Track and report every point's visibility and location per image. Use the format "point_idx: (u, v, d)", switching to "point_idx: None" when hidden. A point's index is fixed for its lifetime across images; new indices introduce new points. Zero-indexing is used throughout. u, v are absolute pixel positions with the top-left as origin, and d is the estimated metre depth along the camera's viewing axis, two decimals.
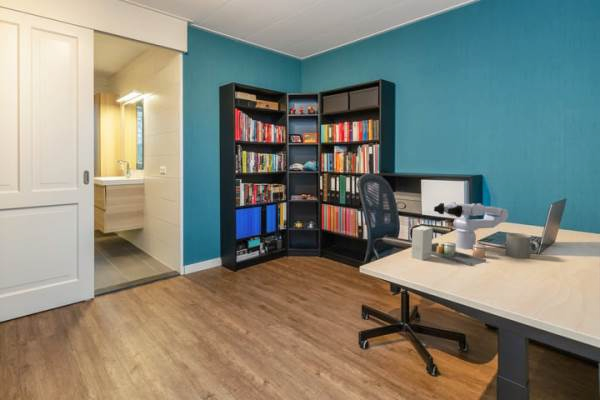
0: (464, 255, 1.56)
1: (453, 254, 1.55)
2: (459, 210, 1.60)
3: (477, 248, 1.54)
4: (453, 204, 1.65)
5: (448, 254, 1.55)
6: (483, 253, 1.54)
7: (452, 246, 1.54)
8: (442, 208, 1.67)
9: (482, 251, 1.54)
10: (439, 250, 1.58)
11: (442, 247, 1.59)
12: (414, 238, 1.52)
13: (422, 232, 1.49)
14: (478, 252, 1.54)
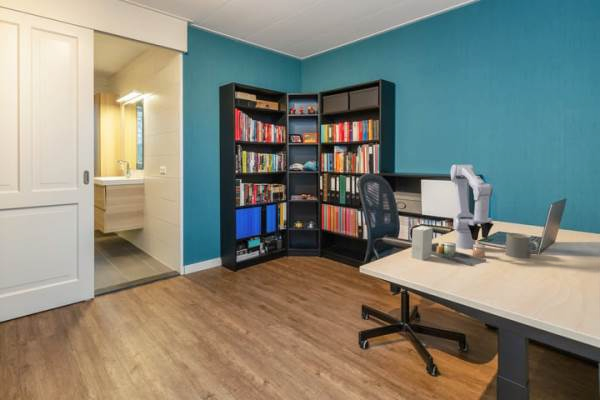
0: (464, 255, 1.56)
1: (453, 254, 1.55)
2: None
3: (477, 248, 1.54)
4: (487, 221, 1.52)
5: (448, 254, 1.55)
6: (483, 253, 1.54)
7: (452, 246, 1.54)
8: None
9: (482, 251, 1.54)
10: (439, 250, 1.58)
11: (442, 247, 1.59)
12: (414, 238, 1.52)
13: (422, 232, 1.49)
14: (478, 252, 1.54)
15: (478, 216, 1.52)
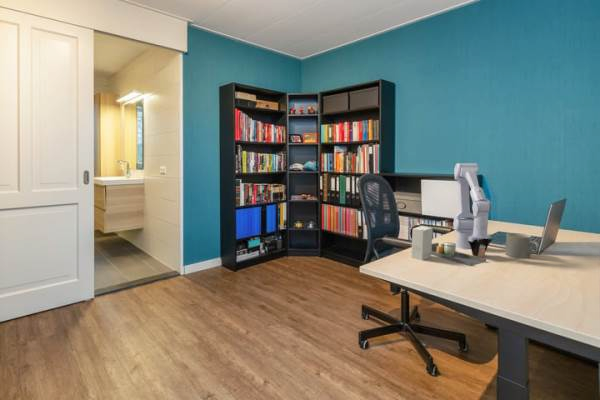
0: (464, 255, 1.56)
1: (453, 254, 1.55)
2: None
3: None
4: None
5: (448, 254, 1.55)
6: (483, 253, 1.54)
7: (452, 246, 1.55)
8: None
9: (482, 251, 1.54)
10: (439, 250, 1.58)
11: (442, 247, 1.59)
12: (414, 238, 1.52)
13: (422, 232, 1.49)
14: (478, 252, 1.54)
15: (477, 232, 1.53)
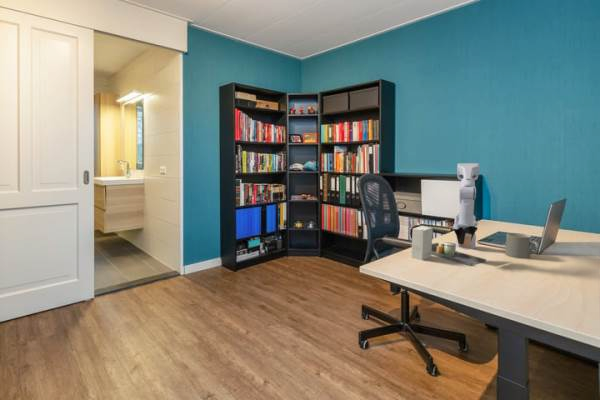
0: (464, 255, 1.56)
1: (453, 254, 1.55)
2: None
3: None
4: (471, 225, 1.47)
5: (448, 254, 1.55)
6: (469, 242, 1.48)
7: (452, 246, 1.54)
8: None
9: (468, 240, 1.48)
10: (439, 250, 1.58)
11: (442, 247, 1.59)
12: (414, 238, 1.52)
13: (422, 232, 1.49)
14: (464, 241, 1.48)
15: (463, 220, 1.47)
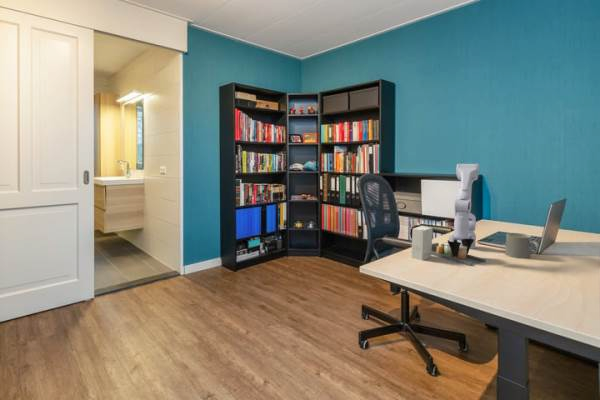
0: None
1: None
2: None
3: None
4: None
5: (448, 254, 1.55)
6: (464, 254, 1.50)
7: None
8: None
9: (463, 252, 1.50)
10: (439, 250, 1.58)
11: (442, 247, 1.59)
12: (414, 238, 1.52)
13: (422, 232, 1.49)
14: (459, 253, 1.50)
15: (458, 232, 1.49)
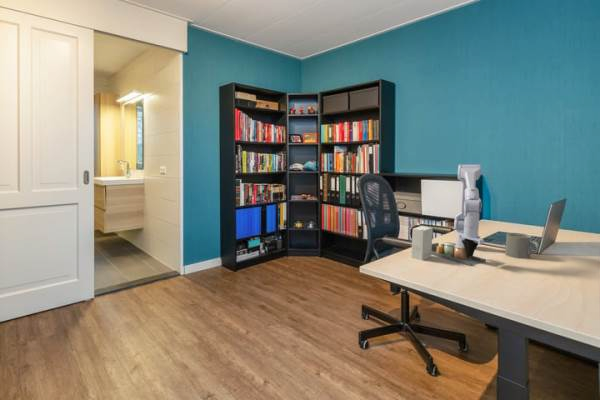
0: None
1: (453, 254, 1.55)
2: None
3: (458, 249, 1.50)
4: None
5: (448, 254, 1.55)
6: (464, 254, 1.50)
7: (452, 246, 1.54)
8: None
9: (463, 252, 1.50)
10: (439, 250, 1.58)
11: (442, 247, 1.59)
12: (414, 238, 1.52)
13: (422, 232, 1.49)
14: (459, 253, 1.50)
15: (476, 233, 1.45)
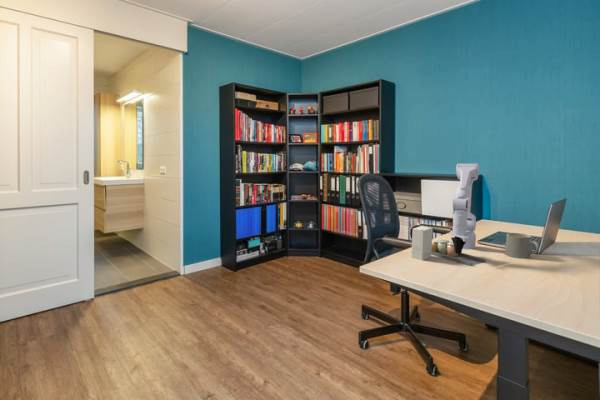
0: (464, 255, 1.56)
1: None
2: None
3: (449, 245, 1.56)
4: None
5: (444, 251, 1.59)
6: None
7: None
8: None
9: (453, 249, 1.55)
10: (432, 248, 1.62)
11: (435, 245, 1.63)
12: (414, 238, 1.52)
13: (422, 232, 1.49)
14: (450, 249, 1.56)
15: (463, 231, 1.49)
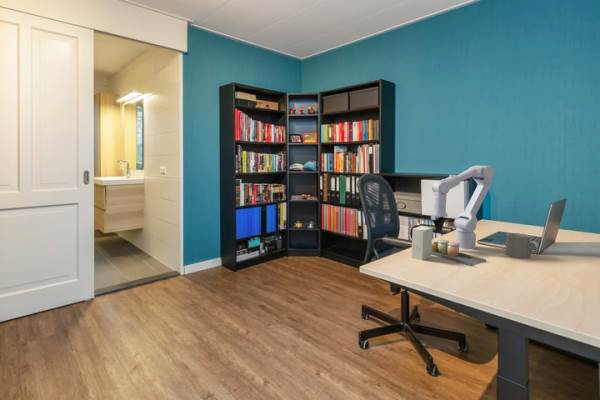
0: (464, 255, 1.56)
1: None
2: None
3: (449, 245, 1.56)
4: None
5: (444, 251, 1.59)
6: (455, 251, 1.55)
7: None
8: None
9: (454, 249, 1.55)
10: (432, 248, 1.62)
11: (435, 245, 1.63)
12: (414, 238, 1.52)
13: (422, 232, 1.49)
14: (450, 249, 1.56)
15: (438, 211, 1.64)
